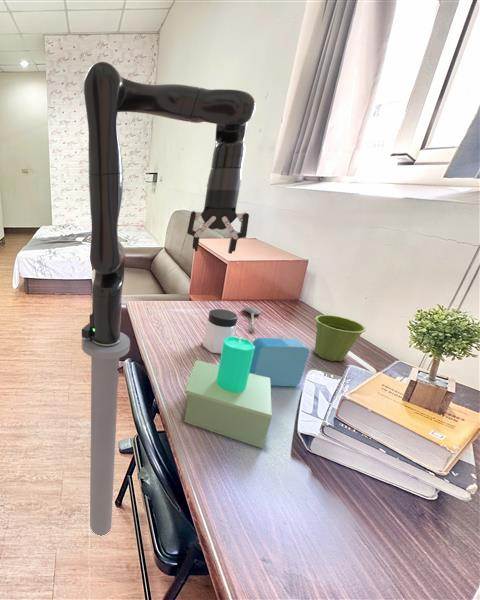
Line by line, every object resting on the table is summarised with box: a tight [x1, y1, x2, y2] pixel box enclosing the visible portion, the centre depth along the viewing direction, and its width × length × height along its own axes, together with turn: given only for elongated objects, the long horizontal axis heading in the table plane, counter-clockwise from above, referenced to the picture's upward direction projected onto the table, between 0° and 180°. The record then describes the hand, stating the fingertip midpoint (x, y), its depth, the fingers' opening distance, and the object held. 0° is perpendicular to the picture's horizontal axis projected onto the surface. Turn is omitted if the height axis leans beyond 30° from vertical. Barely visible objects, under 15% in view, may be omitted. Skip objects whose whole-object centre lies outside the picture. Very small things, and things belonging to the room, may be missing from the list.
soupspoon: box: [242, 306, 262, 333], centre depth 119 cm, size 22×3×7 cm
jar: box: [202, 308, 239, 355], centre depth 98 cm, size 9×8×12 cm
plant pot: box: [314, 314, 367, 362], centre depth 94 cm, size 12×12×11 cm
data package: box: [249, 337, 310, 387], centre depth 82 cm, size 12×4×12 cm, turn 86°
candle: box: [217, 336, 255, 393], centre depth 67 cm, size 6×6×12 cm
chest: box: [183, 394, 272, 449], centre depth 71 cm, size 16×14×8 cm
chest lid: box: [184, 359, 273, 419], centre depth 69 cm, size 16×14×1 cm
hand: (212, 251), depth 83 cm, fingers open, 8 cm apart
